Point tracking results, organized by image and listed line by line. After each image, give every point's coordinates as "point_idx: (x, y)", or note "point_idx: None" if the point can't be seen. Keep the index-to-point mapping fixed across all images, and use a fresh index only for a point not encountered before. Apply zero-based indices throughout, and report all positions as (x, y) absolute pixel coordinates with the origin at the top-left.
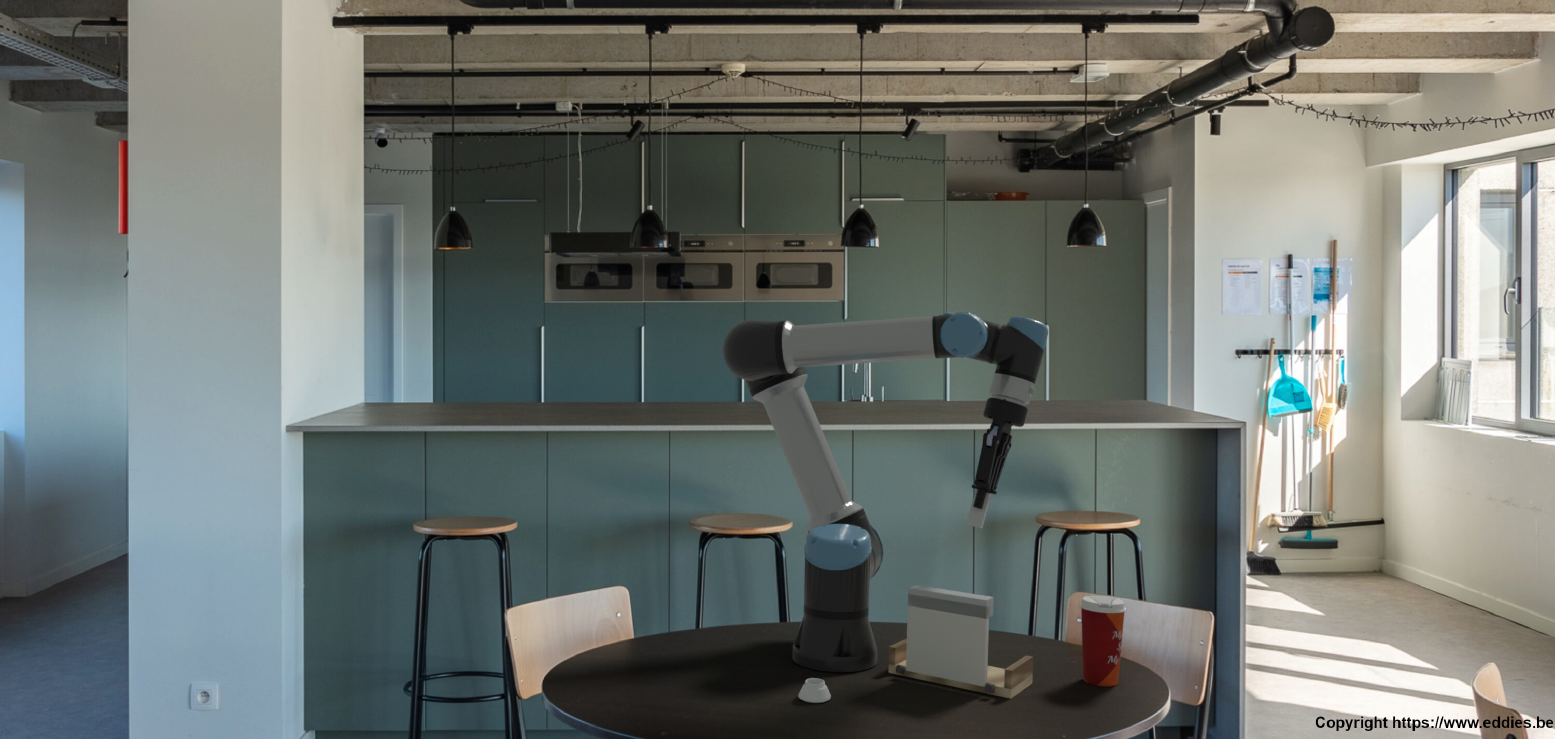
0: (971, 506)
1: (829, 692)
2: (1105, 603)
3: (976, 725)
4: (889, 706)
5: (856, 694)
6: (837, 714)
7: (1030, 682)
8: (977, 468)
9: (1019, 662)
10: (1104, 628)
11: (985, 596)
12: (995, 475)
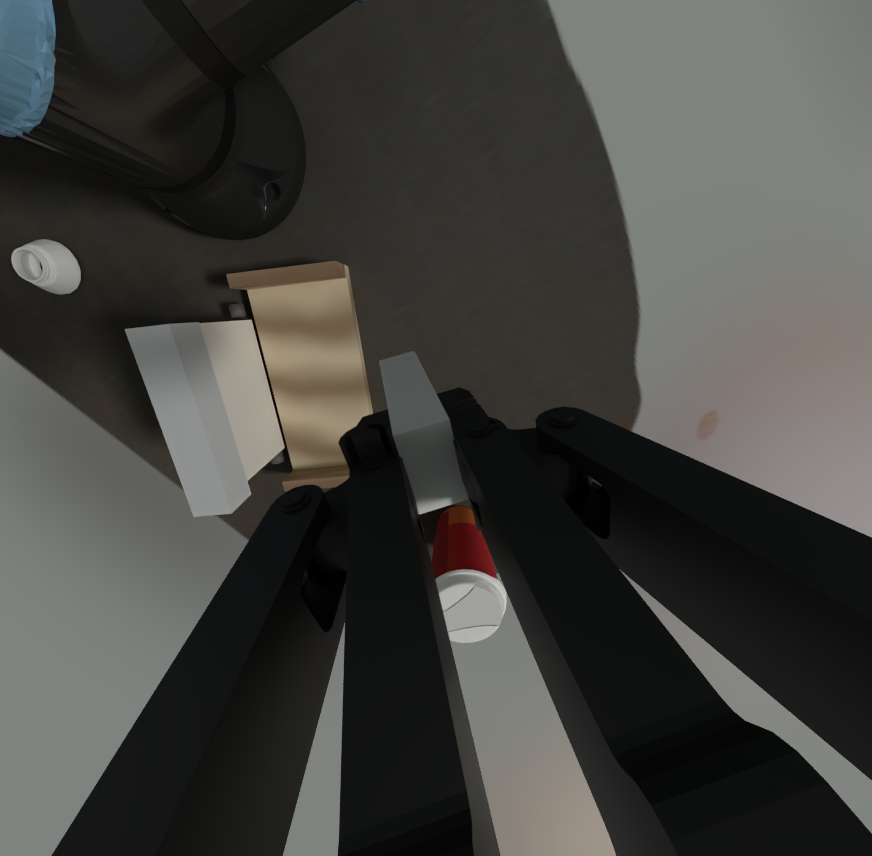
0: (385, 392)
1: (67, 286)
2: None
3: (182, 486)
4: (136, 372)
5: (129, 305)
6: (48, 337)
7: None
8: (201, 620)
9: (330, 482)
10: None
11: (219, 500)
12: (509, 597)
